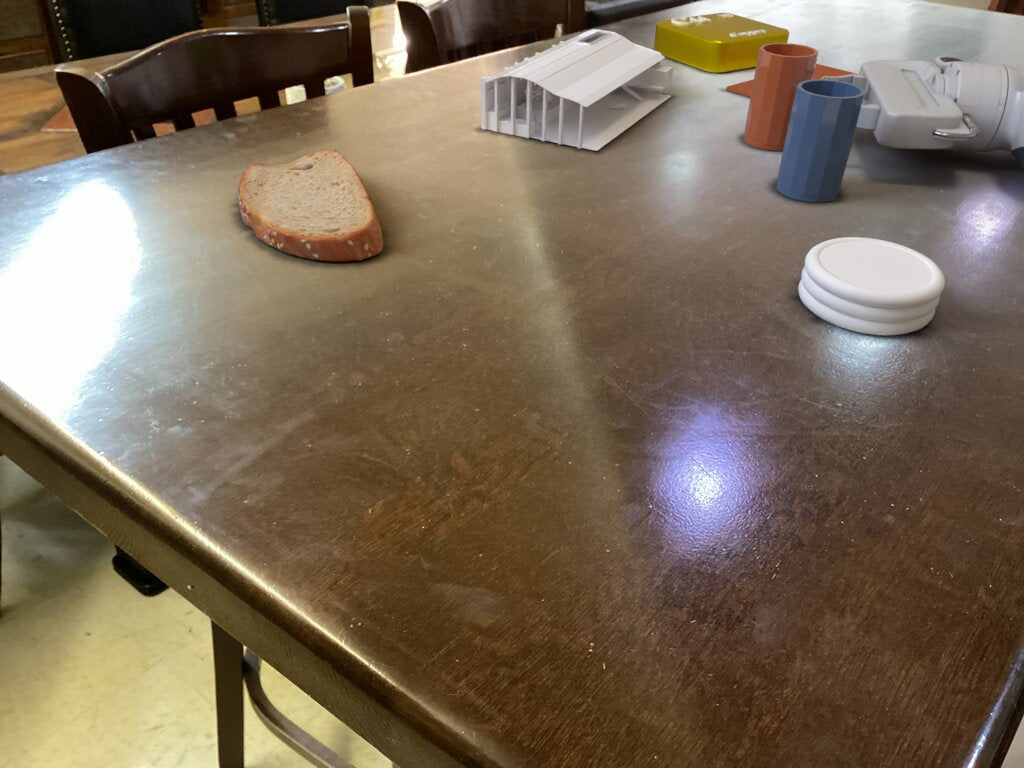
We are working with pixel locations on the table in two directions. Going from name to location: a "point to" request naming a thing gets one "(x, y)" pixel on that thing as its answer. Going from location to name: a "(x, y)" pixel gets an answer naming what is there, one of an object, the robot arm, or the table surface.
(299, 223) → the bread slice
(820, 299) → the coaster
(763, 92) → the terracotta cup
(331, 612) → the table surface
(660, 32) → the element tile
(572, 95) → the model shed
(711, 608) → the table surface
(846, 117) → the blue cup
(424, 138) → the table surface
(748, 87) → the terracotta mat
